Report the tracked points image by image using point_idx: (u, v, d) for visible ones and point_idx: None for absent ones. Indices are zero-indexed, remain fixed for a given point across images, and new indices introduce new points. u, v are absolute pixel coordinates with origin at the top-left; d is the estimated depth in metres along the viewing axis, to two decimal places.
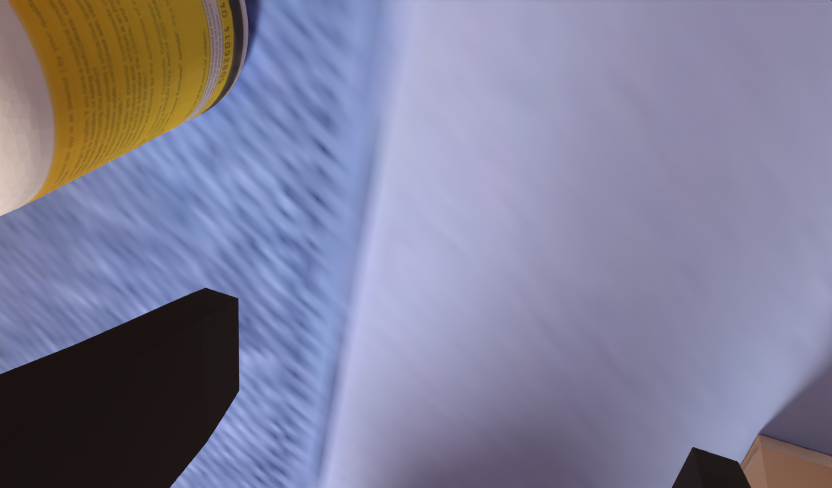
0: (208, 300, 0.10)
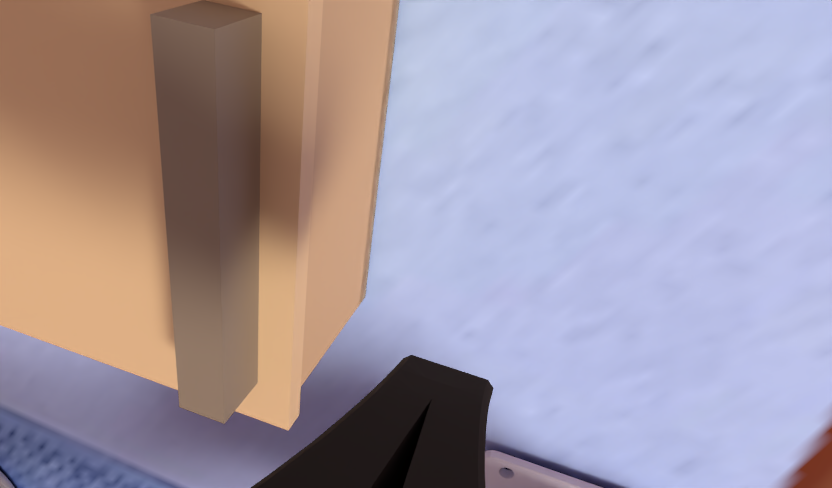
0: (424, 372, 0.09)
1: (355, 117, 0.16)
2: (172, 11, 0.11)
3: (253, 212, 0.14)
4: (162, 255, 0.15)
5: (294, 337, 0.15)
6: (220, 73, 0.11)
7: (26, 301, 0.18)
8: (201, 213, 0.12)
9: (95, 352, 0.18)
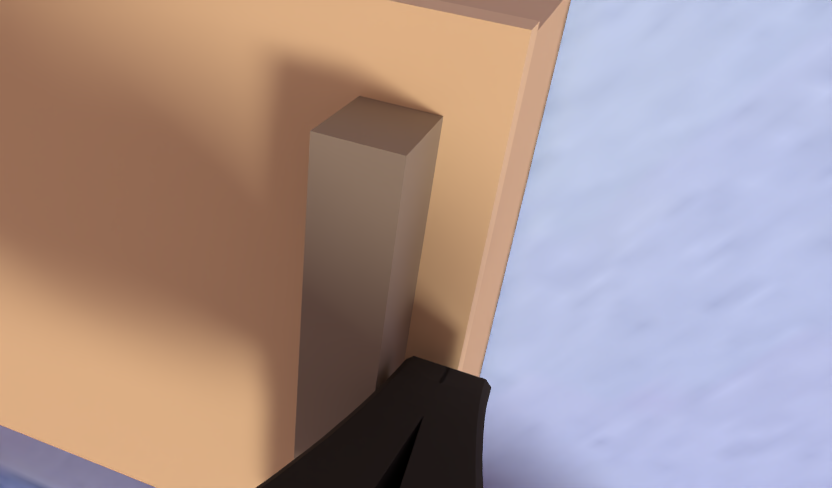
0: (426, 372, 0.09)
1: (509, 215, 0.13)
2: (335, 122, 0.08)
3: (400, 356, 0.11)
4: (266, 389, 0.12)
5: None
6: (401, 208, 0.08)
7: (85, 423, 0.15)
8: (350, 376, 0.09)
9: (168, 484, 0.15)
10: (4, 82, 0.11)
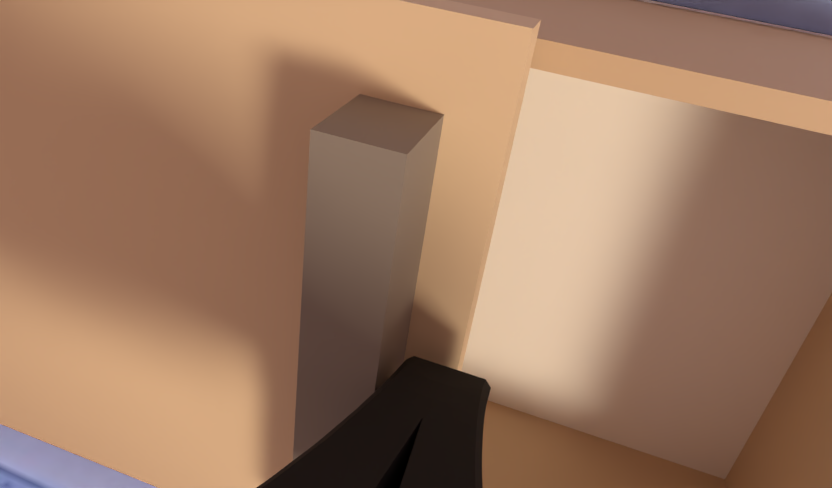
0: (427, 372, 0.09)
1: None
2: (335, 121, 0.08)
3: (400, 355, 0.11)
4: (265, 388, 0.12)
5: None
6: (402, 207, 0.08)
7: (83, 422, 0.15)
8: (350, 376, 0.09)
9: (167, 482, 0.15)
10: (2, 79, 0.11)
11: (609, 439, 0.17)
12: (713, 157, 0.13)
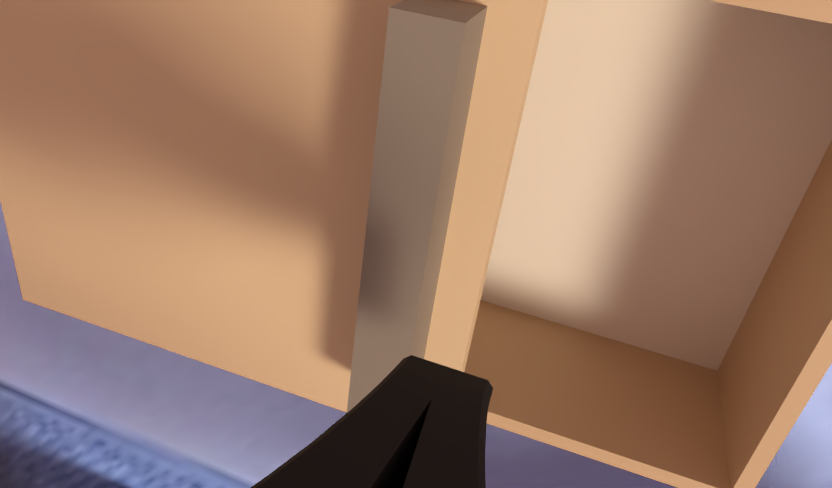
0: (424, 372, 0.09)
1: None
2: (406, 4, 0.10)
3: (446, 219, 0.13)
4: (327, 263, 0.15)
5: (466, 349, 0.15)
6: (458, 71, 0.10)
7: (161, 311, 0.17)
8: (410, 221, 0.12)
9: (233, 364, 0.17)
10: None
11: (615, 338, 0.19)
12: (704, 73, 0.15)
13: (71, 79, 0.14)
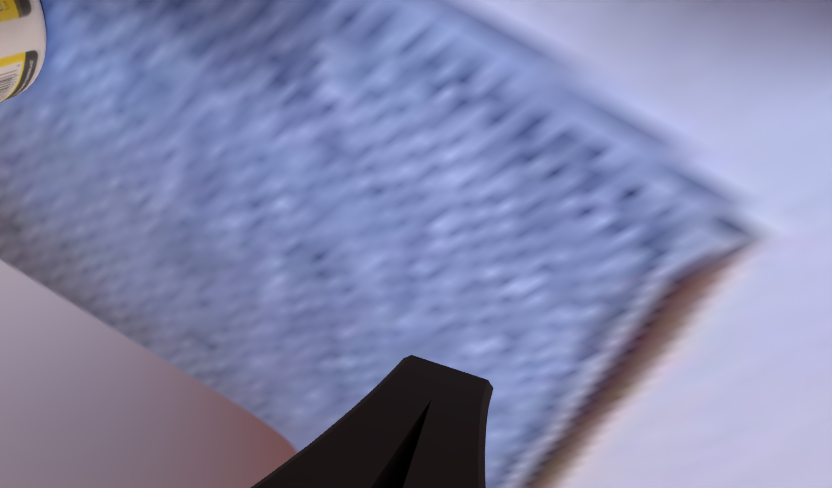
0: (424, 371, 0.09)
1: None
2: None
3: None
4: None
5: None
6: None
7: None
8: None
9: None
10: None
11: None
12: None
13: None
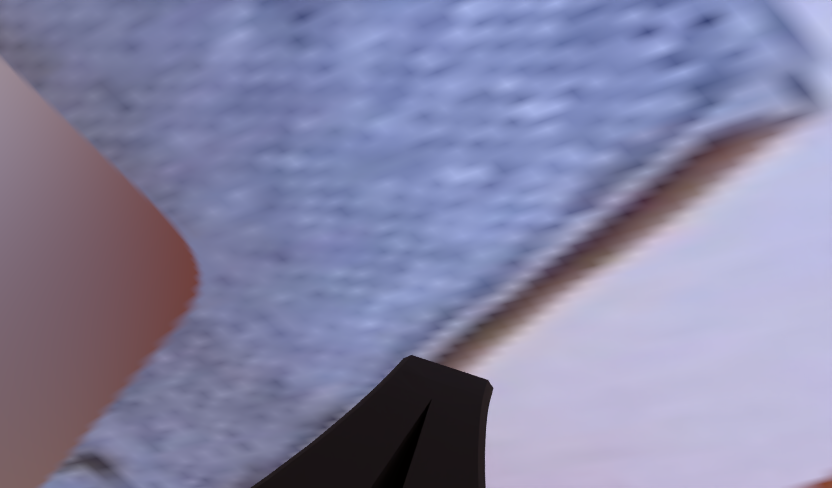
0: (424, 371, 0.09)
1: None
2: None
3: None
4: None
5: None
6: None
7: None
8: None
9: None
10: None
11: None
12: None
13: None
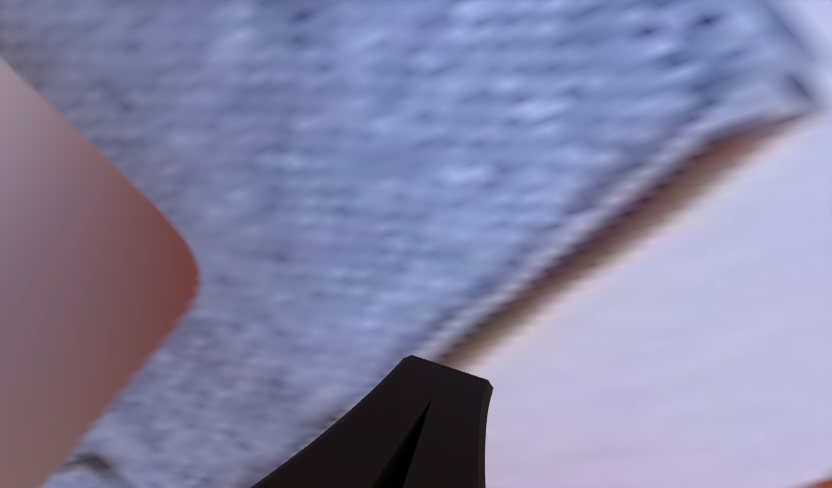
0: (424, 371, 0.09)
1: None
2: None
3: None
4: None
5: None
6: None
7: None
8: None
9: None
10: None
11: None
12: None
13: None
